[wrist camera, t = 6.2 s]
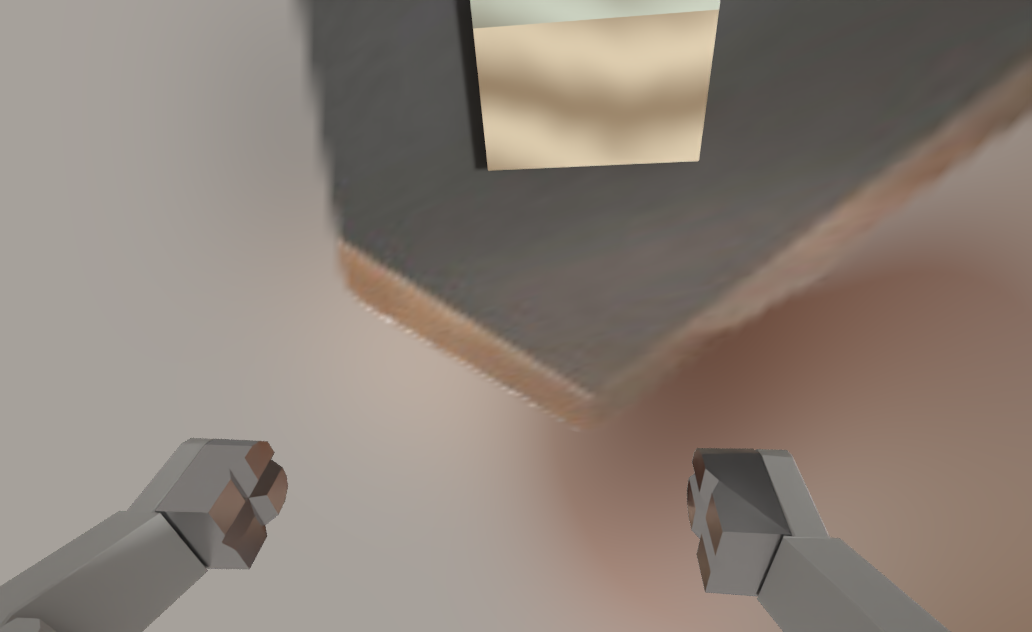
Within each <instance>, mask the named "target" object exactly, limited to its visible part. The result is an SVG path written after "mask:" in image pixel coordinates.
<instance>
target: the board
mask: <svg viewBox="0 0 1032 632" xmlns="http://www.w3.org/2000/svg"><path fill="white" fill-rule="evenodd" d="M470 4H471V13H472V23H473V32H474V42H475V51H476V61H477V70H478V80H479V89H480V99H481V108H482V118H483V127H484V137H485V146H486V156H487V165H488V171H489V170H511V169H533V168H555V167H577V166H599V165H621V164H643V163H665V162H687V161H699V155H700V147H701V140H702V132H703V125H704V118H705V110H706V103H707V95H708V88H709V80H710V73H711V65H712V58H713V51H714V43H715V36H716V28H717V21H718V13H719V6H720V0H470Z"/></svg>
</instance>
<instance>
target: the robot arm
mask: <svg viewBox="0 0 1032 632" xmlns="http://www.w3.org/2000/svg"><path fill="white" fill-rule="evenodd" d="M273 455H274V451H273V449H272V448H271V446H270V444H269V443H268V442H267V441H250V440H229V439H201V438H190V439H189V440H187V441H185V442H183V443H182V444H181V445H180V446H179V447H178V448H177V450H176V451H175V452H174V453H173V455H172V456H171V457H170V458H169V460H168V461H167V462H166V463H165V464H164V466H163V467H162V468H161V469H160V471H159V472H158V473H157V474H156V475H155V477H154V478H153V479H152V481H151V482H150V483H149V484H148V485H147V487H146V488H145V489H144V490H143V491H142V493H141V494H140V495H139V496H138V498H137V499H136V500H135V501H134V503H133V504H132V505H131V506H130V508H129V509H128V510H127V511H119V512H117V513H115V514H114V515H112V516H111V517H109V518H107V519H106V520H104V521H103V522H101V523H99V524H98V525H97V526H95V527H93V528H92V529H90V530H89V531H87V532H85V533H84V534H82V535H81V536H79V537H77V538H76V539H74V540H73V541H71V542H70V543H68V544H66V545H65V546H63V547H62V548H60V549H58V550H57V551H55V552H54V553H52V554H51V555H49V556H47V557H46V558H44V559H43V560H41V561H39V562H38V563H36V564H35V565H33V566H32V567H30V568H28V569H27V570H25V571H24V572H22V573H20V574H19V575H17V576H16V577H14V578H13V579H11V580H9V581H8V582H6V583H5V584H3V585H2V586H0V632H142V631H144V630H145V629H146V628H147V626H149V625H150V624H151V623H152V622H153V621H154V620H155V619H156V618H157V617H159V616H160V615H161V614H162V613H163V612H164V611H165V610H166V609H167V608H168V607H169V606H171V605H172V604H173V603H174V602H175V601H176V600H177V599H178V598H179V597H180V596H181V595H182V594H183V593H185V592H186V591H187V590H188V589H189V588H190V587H191V586H192V585H193V584H194V583H195V582H196V581H198V580H199V579H200V578H201V577H202V576H203V575H204V574H205V573H206V572H207V571H208V570H207V569H206V568H208V569H210V568H211V569H250V568H251V566H252V564H253V562H254V560H255V558H256V556H257V554H258V552H259V551H260V549H261V547H262V545H263V543H264V541H265V539H266V537H267V532H266V526H265V525H266V524H267V523H269V522H270V521H271V520H272V519H274V518H275V517H276V516H277V515H278V514H279V513H280V510H281V508H282V506H283V504H284V502H285V499H286V494H287V489H288V483H287V476H286V474H285V471H284V469H283V468H282V467H281V466H280V465H278V464H277V463H275V462H274V461H273V460H271V459H272V457H273ZM692 464H693V467H694V472H695V473H694V474H693V475H692V476H690V477H689V480H688V487H687V508H688V516H689V521H690V526H691V530H692V531H693V532H694V533H695V534H696V535H697V536H698V537H699V539H700V542H699V546H698V550H697V558H698V563H699V567H700V572H701V576H702V581H703V584H704V589H705V592H707V593H721V594H733V595H734V594H735V595H747V596H758V598H757V599H758V601H759V602H760V603H761V605H762V606H763V607H764V608H765V609H766V611H767V612H768V613H769V614H770V616H771V617H772V618H773V620H774V621H775V622H776V623H777V624H778V626H779V627H780V628H781V629H782V631H783V632H950V631H949V630H948V629H947V628H946V627H944V626H943V625H942V624H941V623H940V622H939V621H937V620H936V619H935V618H934V617H932V616H931V615H930V614H929V613H928V612H927V611H926V610H924V609H923V608H922V607H921V606H920V605H918V604H917V603H916V602H915V601H914V600H912V599H911V598H910V597H909V596H908V595H907V594H905V593H904V592H903V591H902V590H901V589H899V588H898V587H897V586H896V585H895V584H894V583H892V582H891V581H890V580H889V579H888V578H886V577H885V576H884V575H883V574H882V573H881V572H879V571H878V570H877V569H876V568H875V567H873V566H872V565H871V564H870V563H869V562H868V561H866V560H865V559H864V558H862V557H861V556H860V555H859V554H858V553H857V552H856V551H855V550H853V549H852V548H851V547H850V546H848V545H847V544H846V543H845V542H844V541H843V540H841V539H840V538H830V536H829V534H828V532H827V530H826V528H825V526H824V523H823V521H822V519H821V517H820V515H819V513H818V510H817V508H816V506H815V504H814V502H813V500H812V497H811V495H810V493H809V491H808V489H807V487H806V484H805V483H804V480H803V478H802V476H801V474H800V471H799V469H798V467H797V465H796V463H795V461H794V459H793V456H792V455H791V454H790V453H789V452H788V451H787V450H763V449H762V450H761V449H757V450H754V449H719V448H718V449H717V448H716V449H715V448H704V449H703V448H697V449H696V451H695V452H694V456H693V460H692Z"/></svg>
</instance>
